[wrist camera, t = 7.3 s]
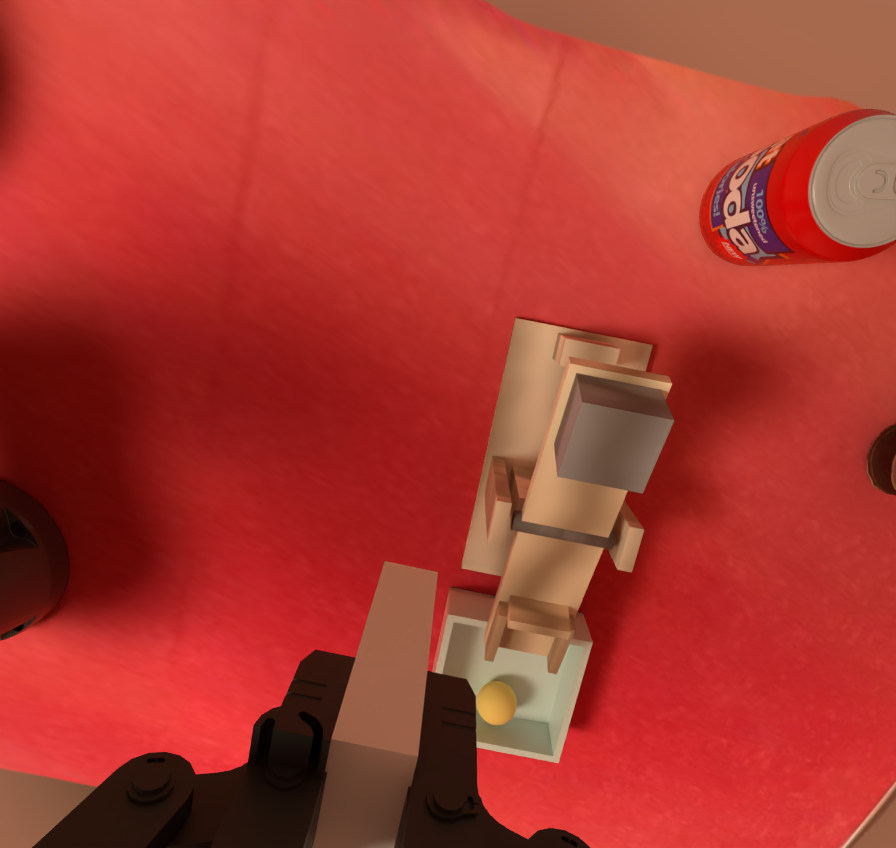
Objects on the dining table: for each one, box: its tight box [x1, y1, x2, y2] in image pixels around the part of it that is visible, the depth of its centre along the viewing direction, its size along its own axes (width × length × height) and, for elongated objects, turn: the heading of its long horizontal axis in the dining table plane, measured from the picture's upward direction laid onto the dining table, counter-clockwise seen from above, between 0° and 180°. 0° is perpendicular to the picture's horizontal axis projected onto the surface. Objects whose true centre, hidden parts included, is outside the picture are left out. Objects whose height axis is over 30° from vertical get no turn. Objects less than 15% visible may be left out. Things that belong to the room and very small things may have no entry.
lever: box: [484, 356, 674, 674], centre depth 40 cm, size 7×25×5 cm, turn 169°
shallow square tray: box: [432, 587, 593, 763], centre depth 53 cm, size 12×12×4 cm
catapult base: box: [462, 318, 653, 576], centre depth 45 cm, size 11×22×11 cm, turn 169°
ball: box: [477, 681, 517, 725], centre depth 54 cm, size 4×4×4 cm
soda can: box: [699, 109, 896, 266], centre depth 38 cm, size 8×8×15 cm
